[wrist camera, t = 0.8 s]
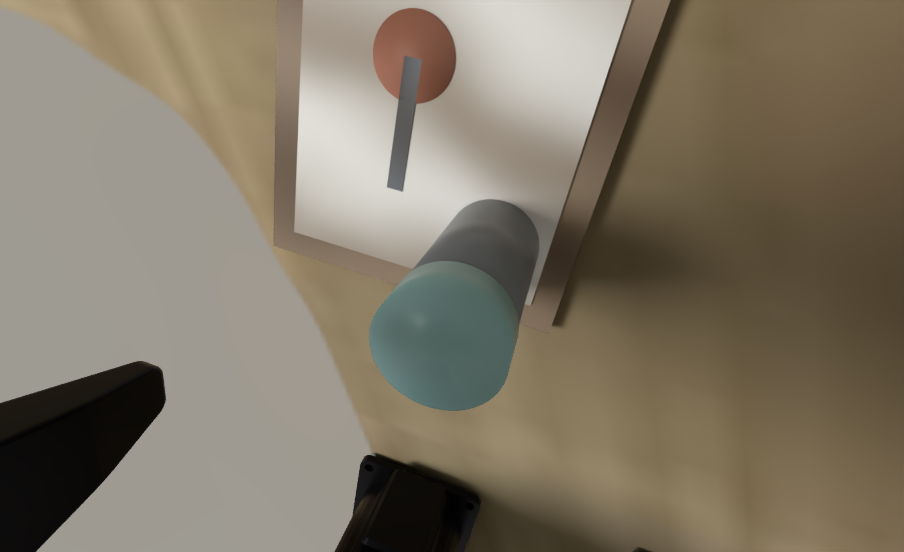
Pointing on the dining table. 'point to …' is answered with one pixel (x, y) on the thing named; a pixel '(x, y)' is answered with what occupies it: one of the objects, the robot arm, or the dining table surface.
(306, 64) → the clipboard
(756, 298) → the dining table surface
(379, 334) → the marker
